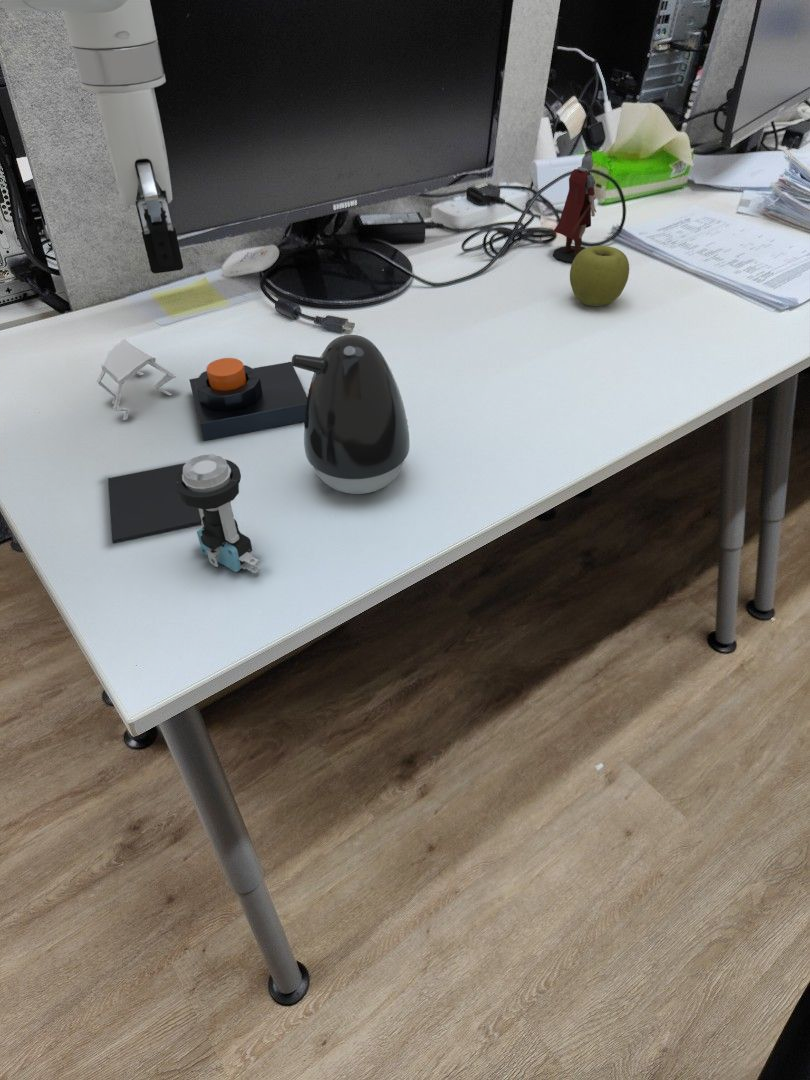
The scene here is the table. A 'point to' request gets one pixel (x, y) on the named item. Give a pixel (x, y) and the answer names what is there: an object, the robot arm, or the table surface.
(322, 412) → the pump dispenser
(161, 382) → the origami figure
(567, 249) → the figurine
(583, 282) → the apple
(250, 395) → the station
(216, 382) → the orange short cylinder
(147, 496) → the pad
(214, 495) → the push button
